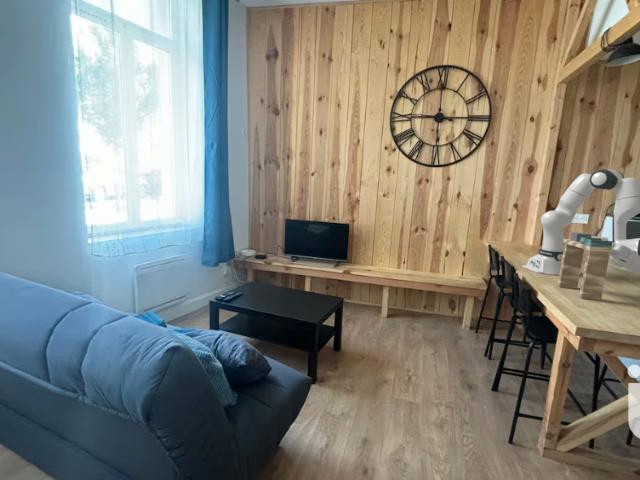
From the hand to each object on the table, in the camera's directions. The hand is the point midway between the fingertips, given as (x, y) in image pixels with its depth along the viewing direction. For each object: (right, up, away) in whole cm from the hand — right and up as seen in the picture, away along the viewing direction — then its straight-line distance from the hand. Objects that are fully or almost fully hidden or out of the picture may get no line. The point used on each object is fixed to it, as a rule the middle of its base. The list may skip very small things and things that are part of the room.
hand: (597, 238), depth 183 cm
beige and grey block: (-4, -1, +1) cm, 4 cm away
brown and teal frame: (-10, -28, 0) cm, 30 cm away
